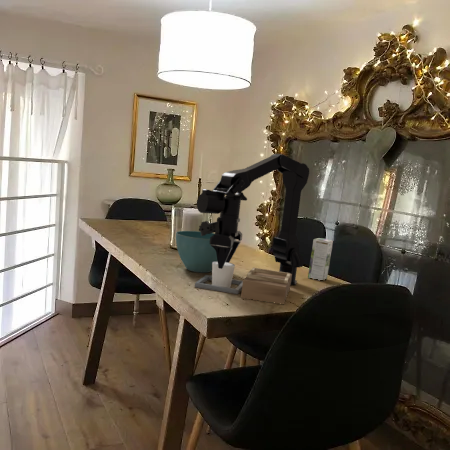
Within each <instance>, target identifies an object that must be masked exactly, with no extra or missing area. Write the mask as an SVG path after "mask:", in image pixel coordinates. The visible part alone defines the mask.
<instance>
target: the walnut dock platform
mask: <svg viewBox="0 0 450 450" xmlns="http://www.w3.org/2000/svg"><path fill="white" fill-rule="evenodd" d="M291 277H292V274H291V273H285V272H279V270H273V269H265V268H259V267H252V268H251V269H250V270H249V271H248V272H247V273H246V275H245V277H244V278H243V280H242V281H243V285H242V290H241V292H240V293H241V294H240V299H245V298H247V299H246V300H251V299H253V301H257V300H260V301H259V302H263V301H267V302H266V303H269V302H275V303H281V304H284V305H285V303H286V301H285V300H287V298H286V297H288V296H287V295H289V293H290V291H289V290H291V286H292V285H291ZM288 292H289V293H288ZM284 302H285V303H284ZM275 303H274V304H275ZM281 304H280V305H281Z"/></svg>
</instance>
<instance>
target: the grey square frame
mask: <svg viewBox="0 0 450 450" xmlns="http://www.w3.org/2000/svg"><path fill="white" fill-rule="evenodd" d="M207 281H212V275H209V274H205V275H204V276H203V277H201V278H199V279H198V280H197V281H195V283H194V287H195V288H197V289H198V288H199V289H205V290H211V291H217V292H224V293H230V294H234V295H238V294H240V293H241V292H242V285H243V280H241V279H236V278H235V279H233V278H232V281H231V285H232V284H233V285H238V286H237V287H236V288H232V287H230V288H228V287H222V286H216V285H212V284H209V283H206V282H207Z"/></svg>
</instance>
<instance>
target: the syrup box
mask: <svg viewBox="0 0 450 450" xmlns="http://www.w3.org/2000/svg"><path fill="white" fill-rule="evenodd" d="M333 243H334V241H333V240H331V239H328V238H323V237H321V238H320V237H318V238H314V239H313V241H312V249H311V255H310V260H309V268H308V273H307V278H308V279H310V278H313V279H312V280H314V279H318V280H317V281H320V280H324V281H326V280H328V277H329V270H330V262H331V256H332V250H333ZM325 279H326V280H325Z"/></svg>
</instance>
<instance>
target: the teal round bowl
mask: <svg viewBox="0 0 450 450" xmlns="http://www.w3.org/2000/svg"><path fill="white" fill-rule="evenodd" d="M214 234H215V232H214V233H210V234H206V235H204V236H201V232H200V231H199V230H197V231H196V230H195V231H194V230H180V231H176V232H175V244H176V249H177V252H178V255H179V258H180V260H181V262H182V264H183V265H184V267H185V268H186V269H187V270H188V271H191V272H194V273H203V274H205V273H212V262H216V261H217V254H216V250H215V249H214V248H213V247H212V246H211V244H209V243H210V237H211V236H213V235H214Z"/></svg>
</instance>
